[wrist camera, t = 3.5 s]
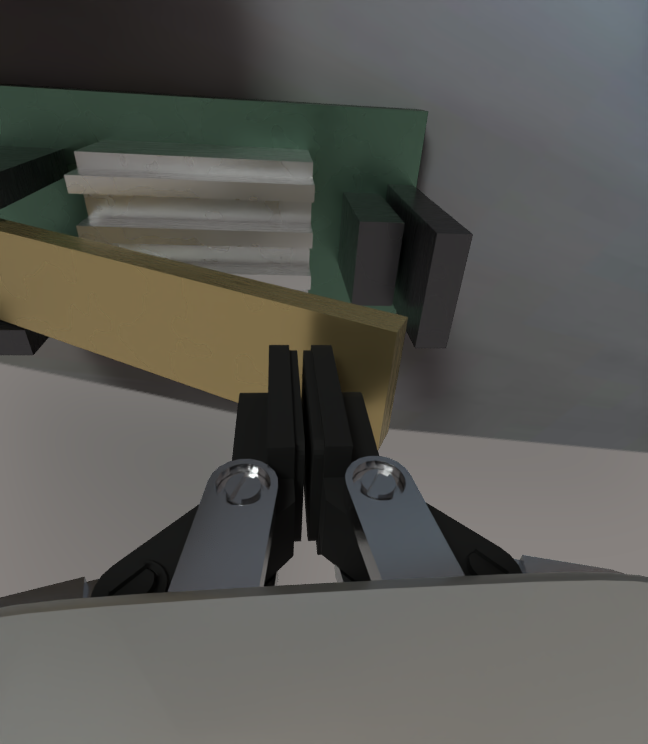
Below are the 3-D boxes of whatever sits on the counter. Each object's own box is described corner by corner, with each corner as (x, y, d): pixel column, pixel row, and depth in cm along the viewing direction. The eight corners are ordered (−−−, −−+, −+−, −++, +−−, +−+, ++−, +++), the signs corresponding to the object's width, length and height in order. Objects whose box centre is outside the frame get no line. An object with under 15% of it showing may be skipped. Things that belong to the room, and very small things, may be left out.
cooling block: (420, 109, 24) (503, 130, 15) (389, 314, 31) (435, 410, 22) (-26, 82, 22) (-230, 89, 13) (44, 310, 28) (-59, 416, 20)
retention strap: (411, 312, 12) (393, 337, 11) (390, 426, 14) (374, 457, 13) (-39, 205, 18) (-83, 213, 17) (-5, 296, 20) (-42, 310, 19)
